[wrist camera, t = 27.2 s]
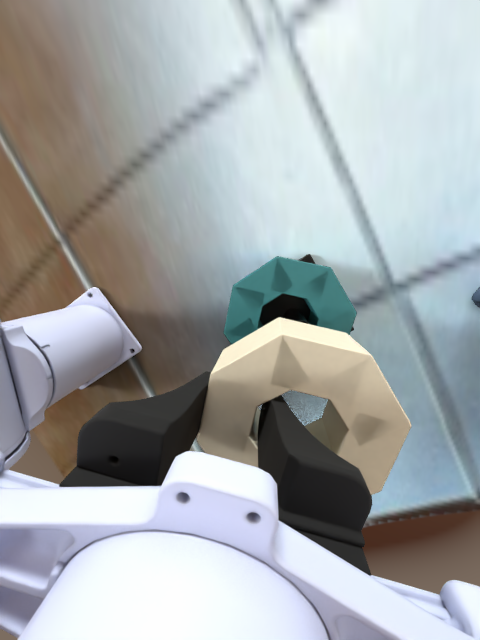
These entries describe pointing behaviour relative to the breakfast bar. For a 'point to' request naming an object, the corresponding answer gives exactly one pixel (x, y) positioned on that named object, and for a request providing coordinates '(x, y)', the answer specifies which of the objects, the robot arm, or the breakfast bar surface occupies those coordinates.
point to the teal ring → (289, 279)
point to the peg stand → (287, 306)
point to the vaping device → (476, 297)
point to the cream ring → (310, 378)
